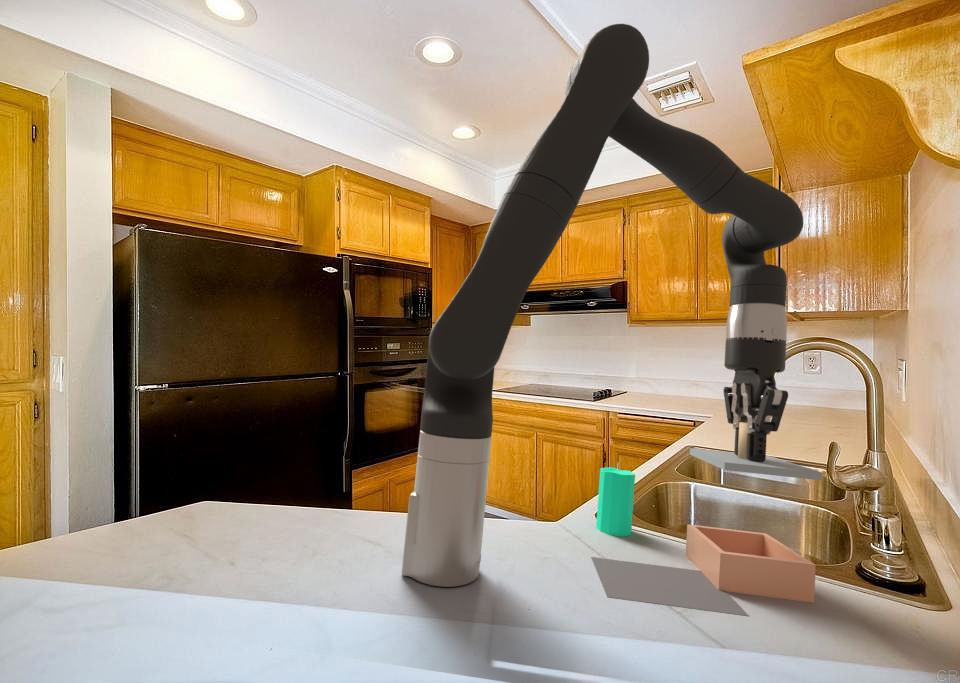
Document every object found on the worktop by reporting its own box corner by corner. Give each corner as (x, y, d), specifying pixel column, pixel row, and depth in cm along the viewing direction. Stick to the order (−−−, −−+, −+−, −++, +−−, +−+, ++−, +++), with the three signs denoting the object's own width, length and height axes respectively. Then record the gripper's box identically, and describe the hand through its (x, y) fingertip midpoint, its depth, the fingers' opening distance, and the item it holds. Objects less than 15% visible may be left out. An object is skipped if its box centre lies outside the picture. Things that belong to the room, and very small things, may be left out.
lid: (724, 470, 59) (726, 423, 60) (689, 454, 71) (692, 415, 72) (822, 480, 58) (823, 433, 59) (770, 462, 70) (772, 423, 71)
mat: (607, 600, 54) (607, 596, 54) (590, 559, 66) (591, 556, 66) (749, 619, 52) (749, 615, 52) (706, 574, 64) (706, 571, 64)
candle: (626, 541, 75) (631, 467, 76) (590, 531, 78) (596, 461, 79) (635, 532, 80) (639, 463, 81) (601, 523, 83) (606, 457, 84)
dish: (718, 593, 58) (720, 553, 59) (685, 557, 70) (687, 524, 70) (814, 605, 57) (815, 564, 58) (764, 567, 69) (766, 533, 69)
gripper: (708, 339, 73) (702, 448, 72) (752, 331, 59) (746, 465, 58) (757, 343, 73) (751, 453, 71) (813, 336, 59) (808, 471, 57)
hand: (749, 458), depth 65 cm, fingers closed on lid, 3 cm apart
